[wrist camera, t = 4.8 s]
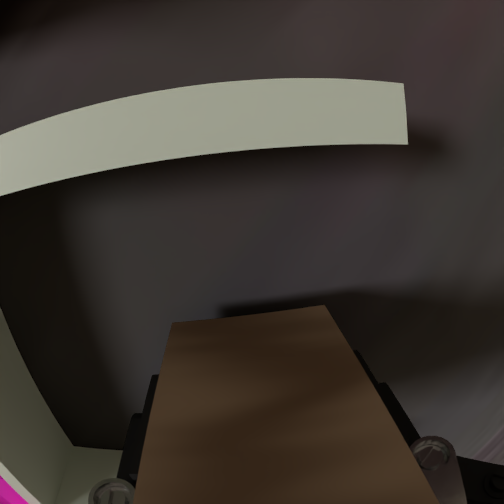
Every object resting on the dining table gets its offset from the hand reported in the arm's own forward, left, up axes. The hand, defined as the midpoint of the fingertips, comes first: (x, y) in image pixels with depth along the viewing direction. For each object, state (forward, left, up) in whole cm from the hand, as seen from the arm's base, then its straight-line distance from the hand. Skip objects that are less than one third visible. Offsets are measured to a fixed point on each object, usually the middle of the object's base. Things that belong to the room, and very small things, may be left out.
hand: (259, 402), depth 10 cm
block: (0, 0, -2) cm, 2 cm away
